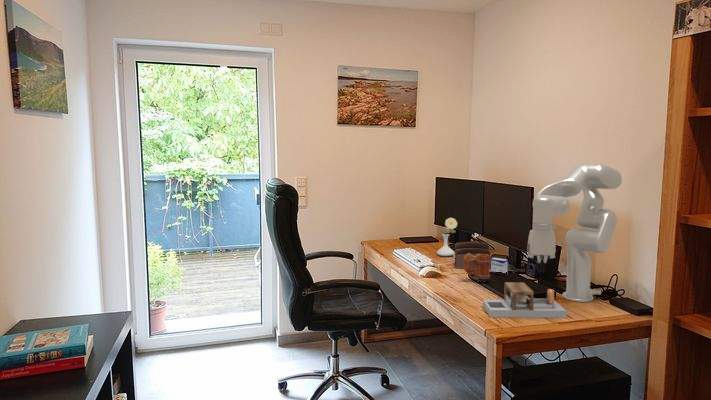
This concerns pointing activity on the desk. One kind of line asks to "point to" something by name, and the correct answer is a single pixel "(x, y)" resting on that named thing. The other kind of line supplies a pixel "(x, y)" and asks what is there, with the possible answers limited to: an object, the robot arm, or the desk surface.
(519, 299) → the block
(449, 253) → the flower in vase
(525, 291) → the tunnel
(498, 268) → the box
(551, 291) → the sled
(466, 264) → the mug
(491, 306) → the track deck
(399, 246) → the desk surface
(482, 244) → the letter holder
